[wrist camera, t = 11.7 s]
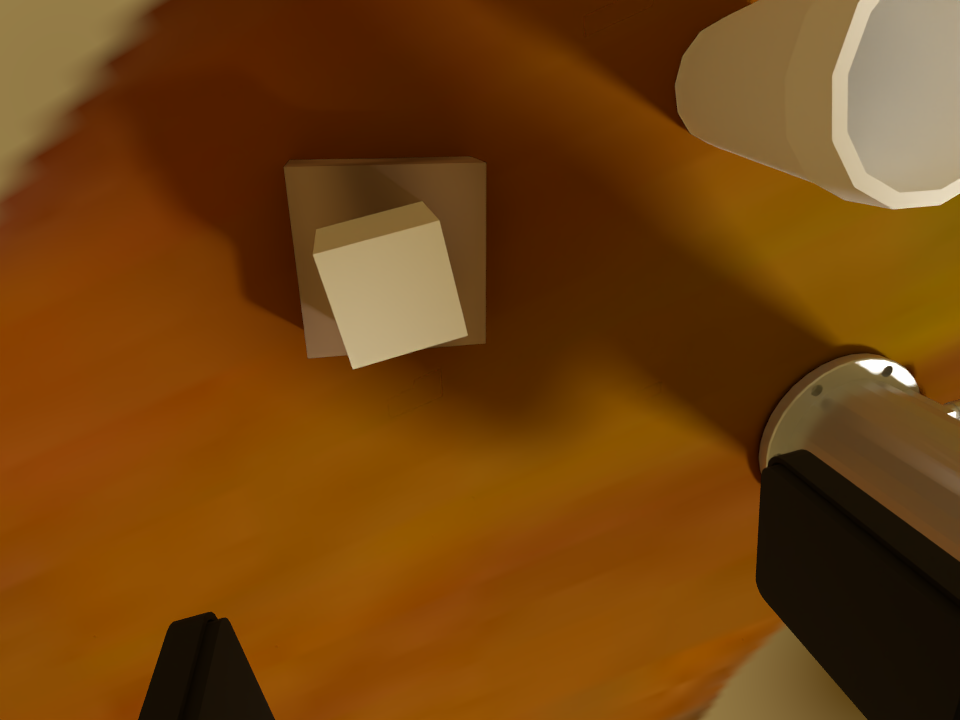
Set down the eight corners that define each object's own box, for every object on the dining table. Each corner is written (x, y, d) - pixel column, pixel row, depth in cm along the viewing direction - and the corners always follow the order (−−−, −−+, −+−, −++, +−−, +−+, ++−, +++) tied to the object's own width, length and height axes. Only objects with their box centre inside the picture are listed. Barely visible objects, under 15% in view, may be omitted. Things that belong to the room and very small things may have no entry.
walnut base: (468, 155, 31) (486, 162, 28) (470, 318, 35) (485, 343, 31) (289, 159, 29) (283, 167, 26) (310, 330, 33) (307, 358, 29)
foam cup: (784, -55, 30) (1067, -154, 19) (821, 119, 34) (1072, 127, 23) (622, 41, 30) (803, 1, 19) (678, 203, 34) (855, 254, 23)
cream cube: (422, 201, 28) (439, 220, 23) (447, 300, 30) (467, 335, 25) (315, 229, 27) (312, 254, 23) (349, 328, 29) (352, 369, 25)
